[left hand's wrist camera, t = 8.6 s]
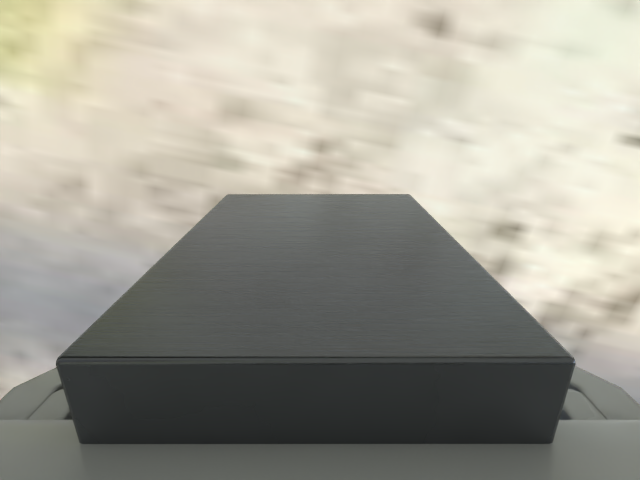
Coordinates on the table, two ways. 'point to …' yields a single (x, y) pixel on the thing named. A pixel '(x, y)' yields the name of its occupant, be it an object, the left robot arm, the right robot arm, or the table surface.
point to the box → (316, 336)
